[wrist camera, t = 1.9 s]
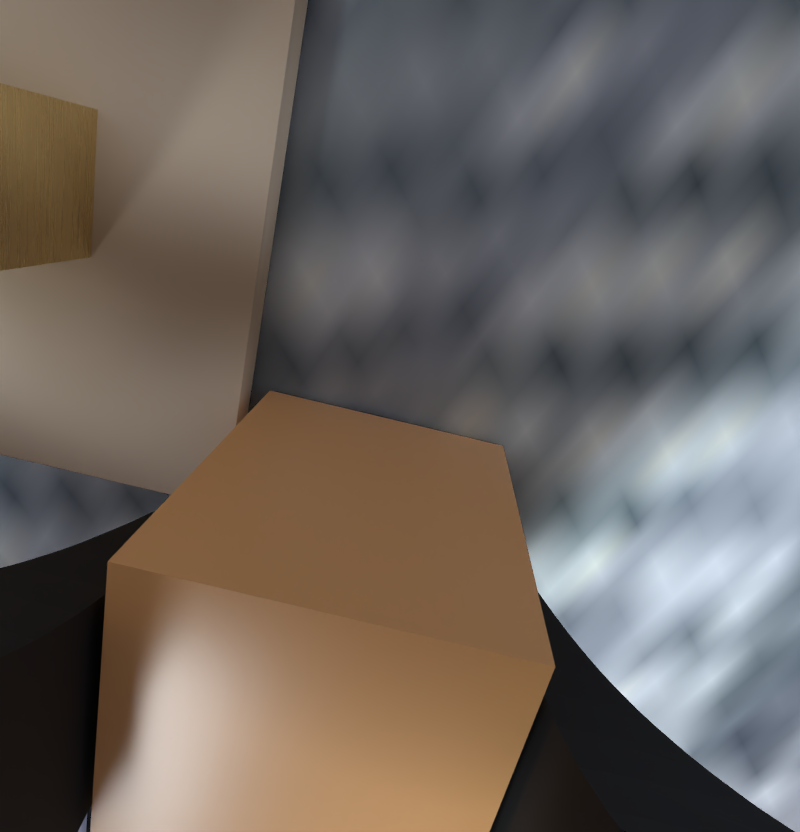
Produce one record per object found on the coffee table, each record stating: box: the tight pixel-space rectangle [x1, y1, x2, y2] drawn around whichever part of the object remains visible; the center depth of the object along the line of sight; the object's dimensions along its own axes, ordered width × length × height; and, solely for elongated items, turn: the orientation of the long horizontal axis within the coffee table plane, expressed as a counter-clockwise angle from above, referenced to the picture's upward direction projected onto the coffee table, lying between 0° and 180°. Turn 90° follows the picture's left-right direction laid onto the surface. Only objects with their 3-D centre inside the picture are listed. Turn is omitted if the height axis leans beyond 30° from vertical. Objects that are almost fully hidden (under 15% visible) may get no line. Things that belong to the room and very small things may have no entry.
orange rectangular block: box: [90, 391, 555, 832], centre depth 11 cm, size 5×5×7 cm
